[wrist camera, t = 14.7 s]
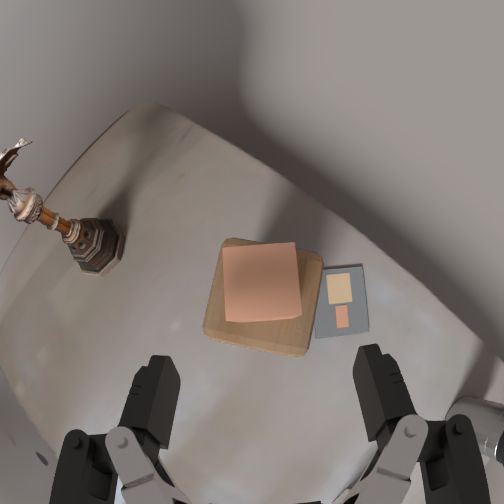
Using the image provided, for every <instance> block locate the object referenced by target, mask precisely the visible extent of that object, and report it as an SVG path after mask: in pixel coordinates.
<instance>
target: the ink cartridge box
mask: <svg viewBox="0 0 504 504" xmlns="http://www.w3.org/2000/svg"><path fill="white" fill-rule="evenodd" d="M350 490H351V489H348V488H347V489H345V491H344V492H343V493H342V494H341V495H340V496H339V497H338V498H337V499H336V500H335V501H334V502H333V503H332V504H341V503H342V502H343V500H344V499H345V497H346V496H347V495H348V493H349V492H350Z"/></svg>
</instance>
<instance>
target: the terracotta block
mask: <svg viewBox="0 0 504 504" xmlns="http://www.w3.org/2000/svg"><path fill="white" fill-rule="evenodd" d="M222 250H223V275H224V297H225V316H226V321H232V322H256V321H270V320H282V319H292V318H295V317H298V316H301V315H302V309H301V297H300V287H299V276H298V266H297V257H296V248H295V242H287V243H274V244H262V245H250V246H237V247H225V248H222Z"/></svg>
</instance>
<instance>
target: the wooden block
mask: <svg viewBox="0 0 504 504" xmlns="http://www.w3.org/2000/svg"><path fill="white" fill-rule="evenodd" d="M262 244H266V243H261V242H256V241H250V240H244V239H239V238H229V239H226V240H225V241H224V243H223V244H222V246H221V250H220V254H219V258H218V262H217V266H216V270H215V274H214V279H213V283H212V287H211V291H210V296H209V300H208V304H207V309H206V313H205V318H204V322H203V332H204V335H205V336H207V337H208V338H209V339H211V340H215V341H219V342H223V343H227V344H232V345H236V346H241V347H245V348H250V349H255V350H259V351H264V352H270V353H275V354H280V355H286V356H292V357H299V356H304V355H305V353H306V352H307V350H308V349H309V345H310V340H311V335H312V330H313V325H314V320H315V315H316V309H317V304H318V298H319V292H320V286H321V280H322V274H323V267H324V263H323V259H322V256H320V255H318V254H317V253H315V252H310V251H304V250H299V249H296V257H297V266H298V276H299V287H300V297H301V309H302V315H301V316H298V317H295V318H292V319H282V320H270V321H256V322H232V321H226V316H225V297H224V275H223V250H222V248H225V247H237V246H250V245H262Z"/></svg>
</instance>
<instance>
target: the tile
mask: <svg viewBox="0 0 504 504" xmlns="http://www.w3.org/2000/svg"><path fill="white" fill-rule="evenodd" d="M314 322H315V336H316V339H318V338H326V337H335V336H342V335H350V334H356V333H363V332H369V326H368V314H367V303H366V294H365V285H364V277H363V270H362V266H361V267H350V268H339V269H327V270H323V274H322V280H321V286H320V292H319V298H318V304H317V309H316V315H315V320H314Z"/></svg>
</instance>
